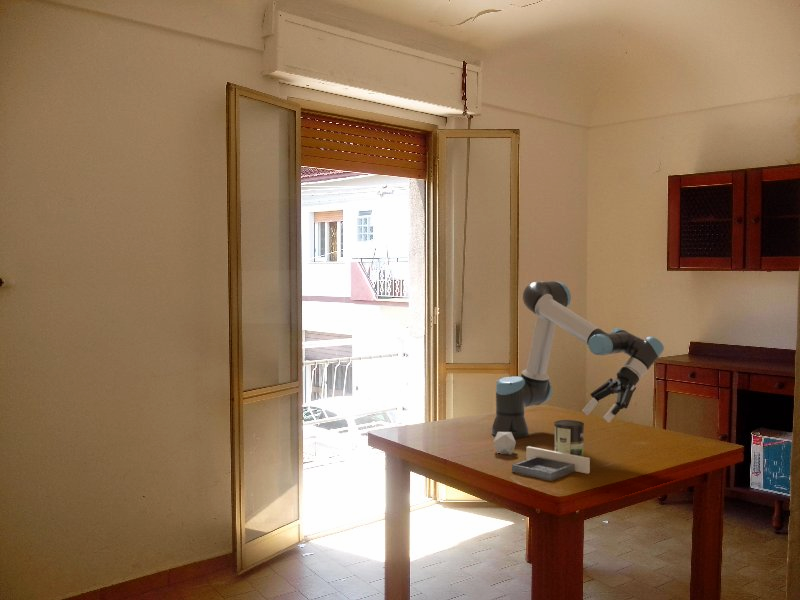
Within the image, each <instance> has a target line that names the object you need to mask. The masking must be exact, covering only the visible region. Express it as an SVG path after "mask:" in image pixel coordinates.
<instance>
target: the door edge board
mask: <svg viewBox="0 0 800 600" xmlns="http://www.w3.org/2000/svg"><path fill="white" fill-rule="evenodd" d="M525 449H526V450H525V455H526V456H525V457H526V458H525V459H526V460H528V459H530V458H533V457H536V456H537V457H542V458H547V459H551V460H556V461H561V462H566V463H571V464H575V471H574V472H578V473H583V474H590V472H591V468H590V467H591V465H590V463H591V462H590V461H591V458H590V457H587V456H583V457H582V456H577V455H572V454H566V453H561V452H556V451H555V450H550V449H546V448H545V449H544V448H540V447H535V446H530V445H528V446H526V447H525Z"/></svg>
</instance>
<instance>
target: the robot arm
mask: <svg viewBox="0 0 800 600" xmlns="http://www.w3.org/2000/svg"><path fill="white" fill-rule="evenodd" d="M571 300H572V295H571V292H570V289H569V288H568V286H567V285H566V284H565V283H563V282H561V281H556V280H555V281H554V280H551V281H550V280H549V281H547V280H546V281H533V282H530V283H529V284H528V285H527V286H525V288H524V289H523V293H522V301H523V304H524V306H525V307H526V308H527V309H528V310H529V311H531V312H532V313H533V314H535V315H536V317H535V323H534V327H533V332H532V338H531V342H530V343H531V344H530V347H529V354H528V358H527V363H526V368H525V369H523V370H522V371H521V375H520V376H517V375H512V376H505V377H502V378H500V379H498V380H497V381H496V384H495V385H496V387H495V417H494V421H493V424H492V427H491V434H493V436H494V437H496V435H497V432H512V435H513V437H514V439H522V438H526V437H528V436H530V435H529V431H530V430H529V427H528V423H527V420H526V417H525V408H527V407H532V406H540V405H542V404H544V403H546V402H547V401H549V399H550V398H551V396H552V393H553V387H552V385H551V384H552V383H551V381H550V376H549V374H548V373H547V372H548V367H549V361H550V357H551V352H552V348H553V342H554V338H555V333H556V327H557V326H558V327H560V328H561V329H563V330H564V331H565V332H567V333H569V334H570V335H572V336H573V337H574V338H576V339H578V340H579V341H581V342H582V343H584V344H585V345H587V346H588V349H589V350H590V352H591V353H592V354H593V355H595V356H606V355H612V354H613V355H614V354H626V355H628V356H630V357H629V358H628V360H627V361H626V362H625V363H624V364H623V366H622V367H620V369H619V371H617V373H616V379H613V378H611V377H610V378H609V379H608V380H607V381H606V382H604V383H603V384H602V385H601V386H599V387H598V388H595V390H594V391H592V392H591V393H590V396H591V399H590V400H589V401H588V402H587V404H586V405H584V407H583V408H582V409H581V412H583V413H584V414H585V416H587V417H588V416H589V415H590V413H591V412H592V411H593V410H594V408H596V407H597V405H598V404H599V402H600V401H601V400H602V399H604V398H606V397H608V396H610V395H611V394H612V395H614V394H617V397H616V402H614V404H613V405H612V406H611V407H610V408H609V409H608V411H607V412H606V413H605V414H604V415H603V417H602V419H603V420H604V421H605V422H606V423H608V424H609V423H610V422H611V421H612V420H613V418H614V417H615V416H616V415H618V413H619V412H620V411H621V410H623V409H628V407H629V405H630V402H631V399H632V397H633V394H634V392H635V391H636V389H637V387H636V385H637V384H638V383H639V381H640V379H641V378H642V377H643V376H644V375H645V374H646V373H647V371H648V370H649V369H650V368H651V367H652V365H653V364H654V363H655V362H656V361H657V360H658V359H659V358H660V356H661V355H662V353H663V352H664V350H665V346H664V345H663V343H662V342H661V341H660V340H659V339H658V338H656V337H654V336H650V335H649V336H647V337H646V338H644V339H643V338H640V337H639V336H636V335H634V334H633V333H630V332H629V331H627V330H625V329H621V328H619V327H617V328H616V327H615V328H614V329H613V330H611V331H610V332H608V333H607V332H606V331H604V330H603V329H601V328H599V327H598V326H597V325H595V324H593V323H592V322H590V321H589V320H586V319H585V318H584V317H582V316H581V315H579V314H577V313H576V312H574V311H573V310H571V309H569V308H568V307H569V306H570V304H571Z"/></svg>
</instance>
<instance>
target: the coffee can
mask: <svg viewBox="0 0 800 600" xmlns="http://www.w3.org/2000/svg"><path fill="white" fill-rule="evenodd" d="M553 425H554V451H556V452H561V453H566V454H572V455H577V456H582V457H584V449H585V448H584V447H585V446H584V445H585V443H584V442H585V441H584V440H585V439H584V437H585V436H584V430H585V429H584V428H585V422H582V421H578V420H572V419H561V420H556V421H554V422H553Z"/></svg>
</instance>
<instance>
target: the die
mask: <svg viewBox="0 0 800 600" xmlns="http://www.w3.org/2000/svg"><path fill="white" fill-rule="evenodd" d="M515 439H516V438H514V437H513V435H512V432H497V435H496V436H494V440H493V442H492V443H493V445H494V449H495V451H496V453H497V454H498V453H501V454H500V455H512V454H513V453H514V452H513V451H514V449H515V446H516V444H517V442H516V440H515Z"/></svg>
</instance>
